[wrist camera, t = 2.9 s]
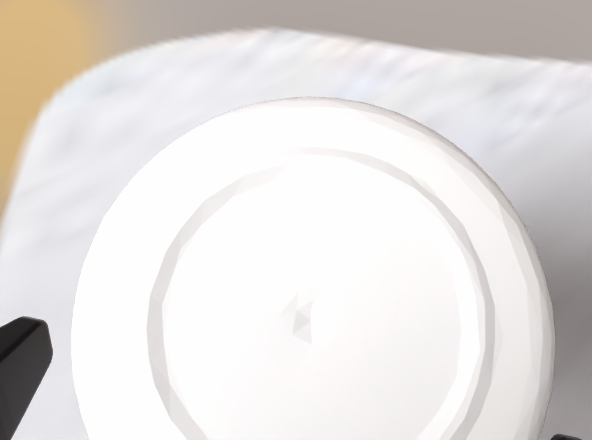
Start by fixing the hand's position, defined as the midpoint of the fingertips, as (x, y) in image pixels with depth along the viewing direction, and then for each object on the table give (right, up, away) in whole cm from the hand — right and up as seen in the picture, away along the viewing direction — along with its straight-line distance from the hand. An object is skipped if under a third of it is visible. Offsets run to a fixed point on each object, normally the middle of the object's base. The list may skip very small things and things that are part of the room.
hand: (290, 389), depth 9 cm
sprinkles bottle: (0, -1, +9) cm, 9 cm away
